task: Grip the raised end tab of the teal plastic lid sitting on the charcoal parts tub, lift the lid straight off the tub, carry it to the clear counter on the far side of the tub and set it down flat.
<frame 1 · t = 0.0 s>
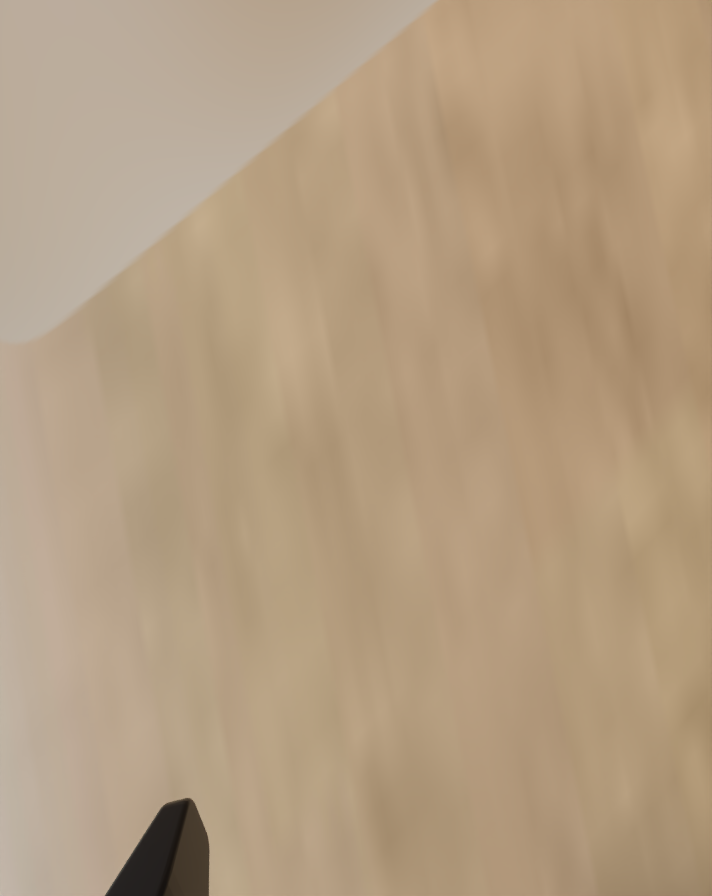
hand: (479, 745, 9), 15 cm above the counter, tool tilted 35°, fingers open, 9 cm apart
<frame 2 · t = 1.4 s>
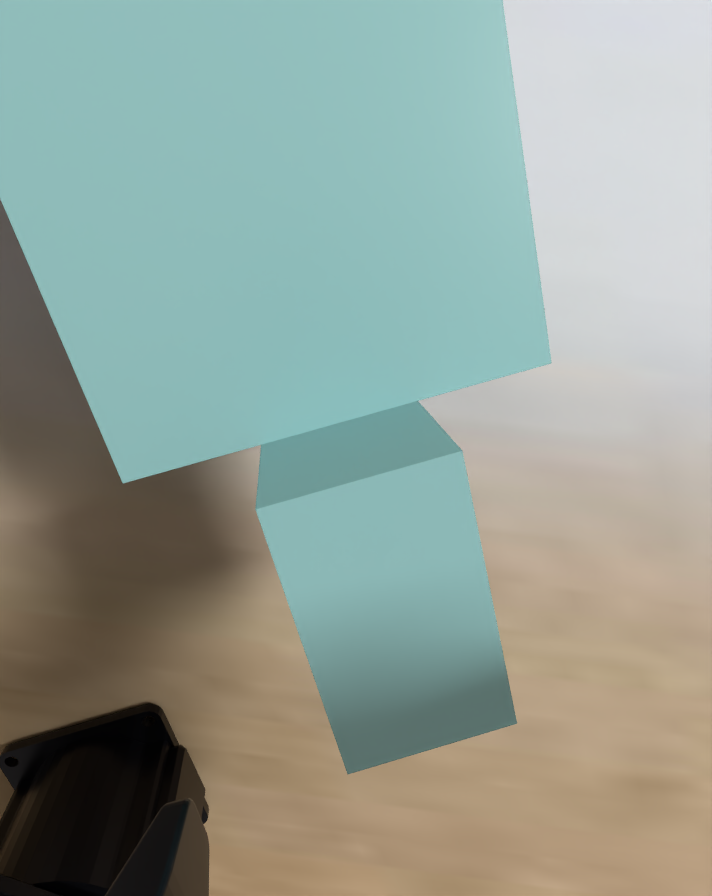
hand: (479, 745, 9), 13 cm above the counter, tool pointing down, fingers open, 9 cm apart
lid: (237, 54, 11), point 6 cm above the counter, touching tub
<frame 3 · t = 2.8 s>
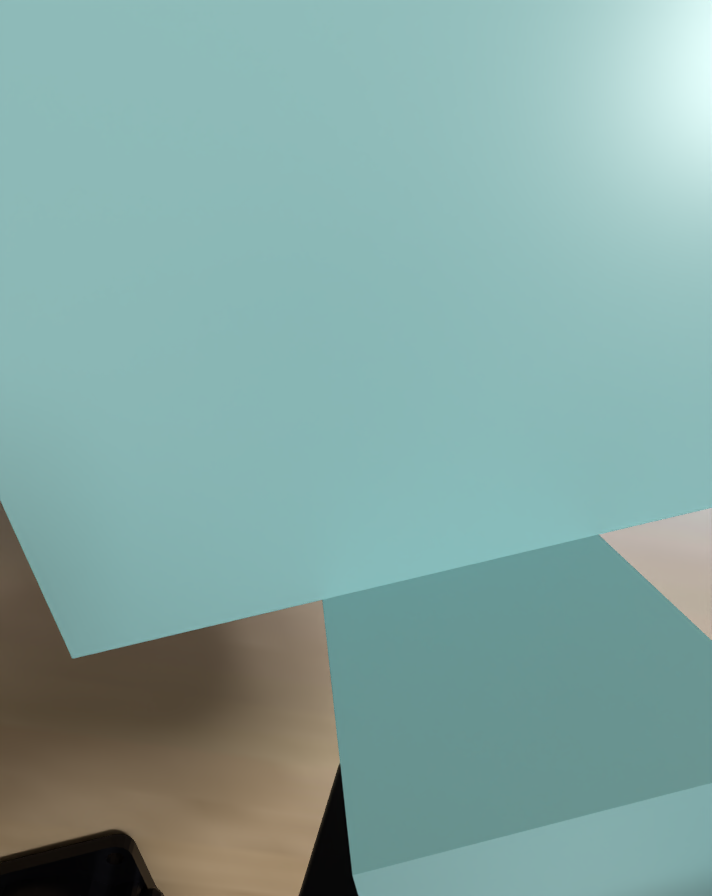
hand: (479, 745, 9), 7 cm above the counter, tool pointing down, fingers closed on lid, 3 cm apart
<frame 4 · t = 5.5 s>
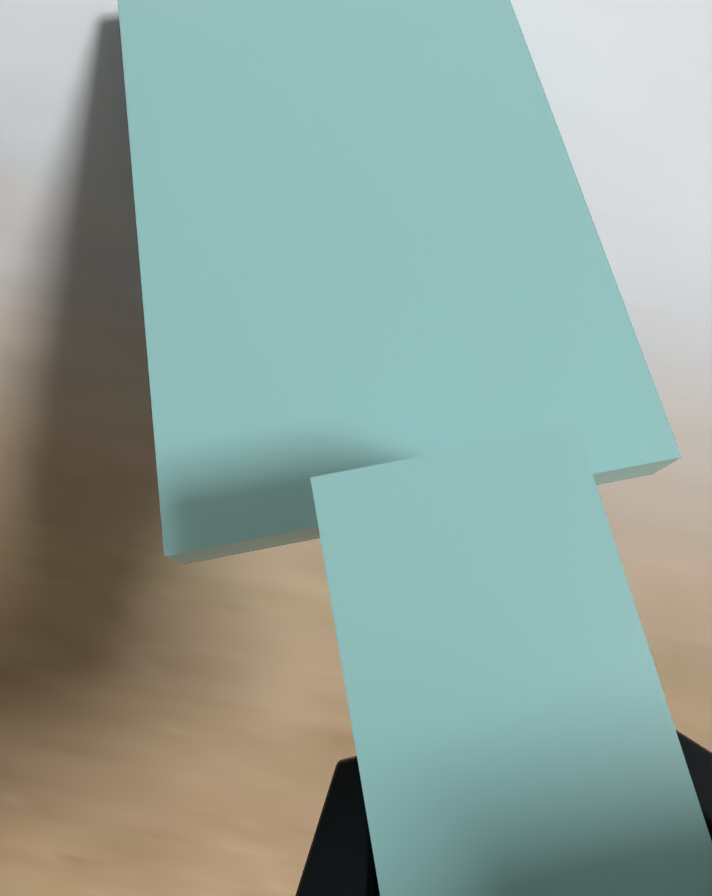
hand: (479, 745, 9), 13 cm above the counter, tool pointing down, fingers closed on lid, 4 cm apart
lid: (354, 222, 14), point 5 cm above the counter, tilted 38°, touching gripper
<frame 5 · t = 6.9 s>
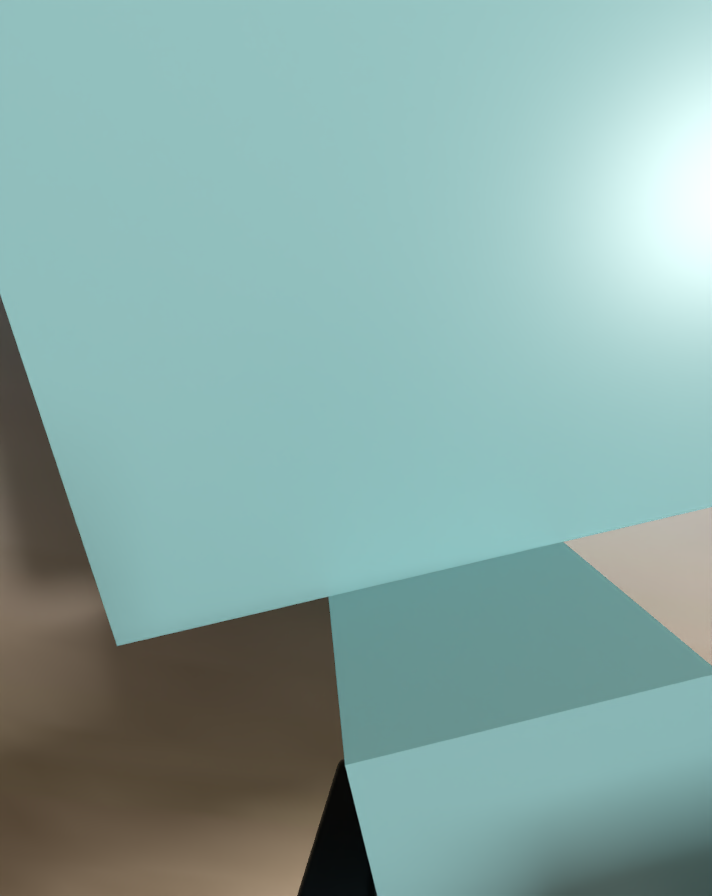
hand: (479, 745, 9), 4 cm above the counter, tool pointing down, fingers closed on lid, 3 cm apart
lid: (335, 49, 8), point 2 cm above the counter, tilted 8°, touching gripper
when the fingers open (3 cm above the counter, at t = 7.6 s): lid stays where it is, point 1 cm above the counter.
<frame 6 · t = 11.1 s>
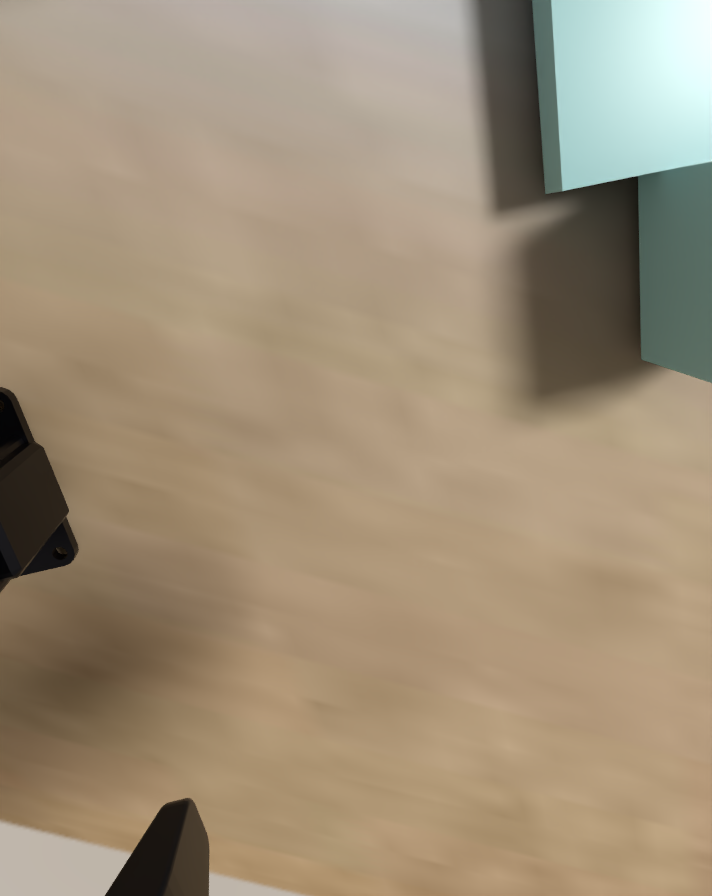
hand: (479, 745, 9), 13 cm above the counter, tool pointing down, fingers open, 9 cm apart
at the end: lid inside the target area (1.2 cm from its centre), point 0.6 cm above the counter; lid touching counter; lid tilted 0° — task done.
